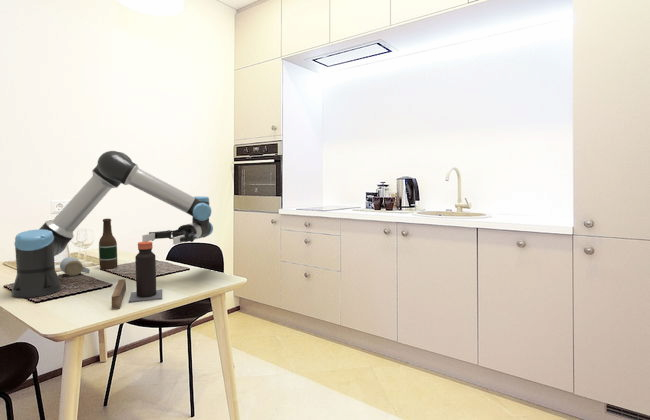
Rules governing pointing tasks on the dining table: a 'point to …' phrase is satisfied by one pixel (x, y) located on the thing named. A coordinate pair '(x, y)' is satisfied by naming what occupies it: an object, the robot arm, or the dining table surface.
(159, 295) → the pad
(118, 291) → the door rail
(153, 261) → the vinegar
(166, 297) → the dining table surface
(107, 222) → the beer bottle
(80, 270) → the ceramic mug
